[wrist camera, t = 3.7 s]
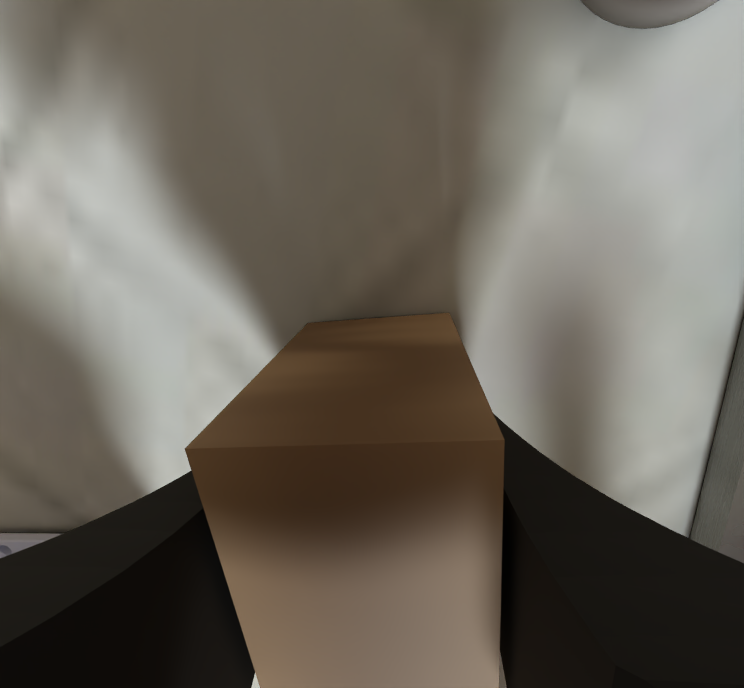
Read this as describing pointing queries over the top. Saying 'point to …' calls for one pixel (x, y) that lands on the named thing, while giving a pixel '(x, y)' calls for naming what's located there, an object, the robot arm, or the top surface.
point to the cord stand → (646, 11)
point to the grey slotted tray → (725, 473)
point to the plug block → (361, 509)
